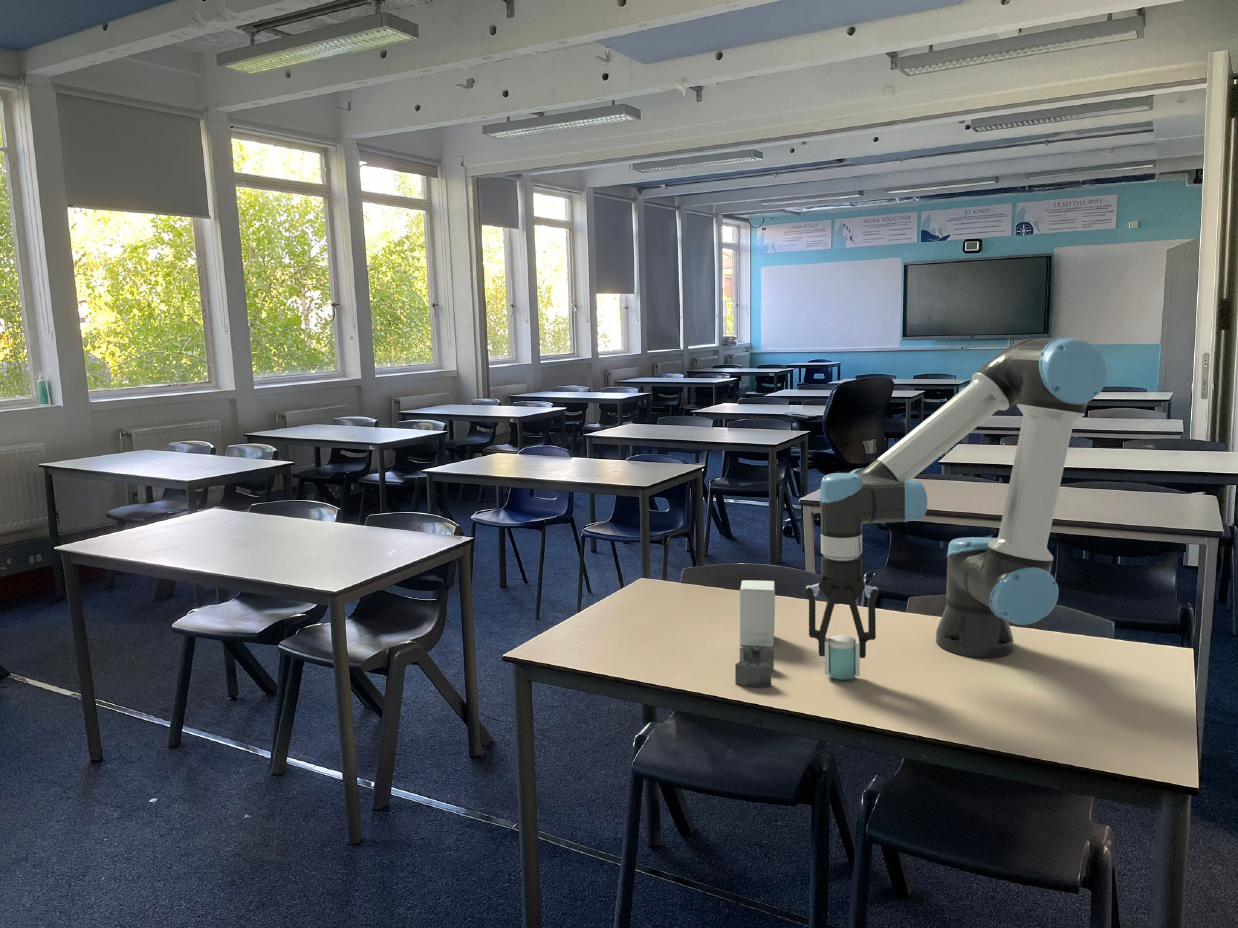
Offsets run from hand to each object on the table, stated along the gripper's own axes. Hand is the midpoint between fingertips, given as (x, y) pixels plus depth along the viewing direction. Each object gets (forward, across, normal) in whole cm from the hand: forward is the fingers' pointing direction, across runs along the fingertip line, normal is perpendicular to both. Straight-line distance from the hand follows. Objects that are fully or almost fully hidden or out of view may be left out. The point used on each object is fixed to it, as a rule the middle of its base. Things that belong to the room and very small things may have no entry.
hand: (842, 672), depth 166 cm
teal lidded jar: (0, 0, 0) cm, 0 cm away
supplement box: (+1, +18, -18) cm, 25 cm away
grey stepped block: (+1, +16, +2) cm, 17 cm away
